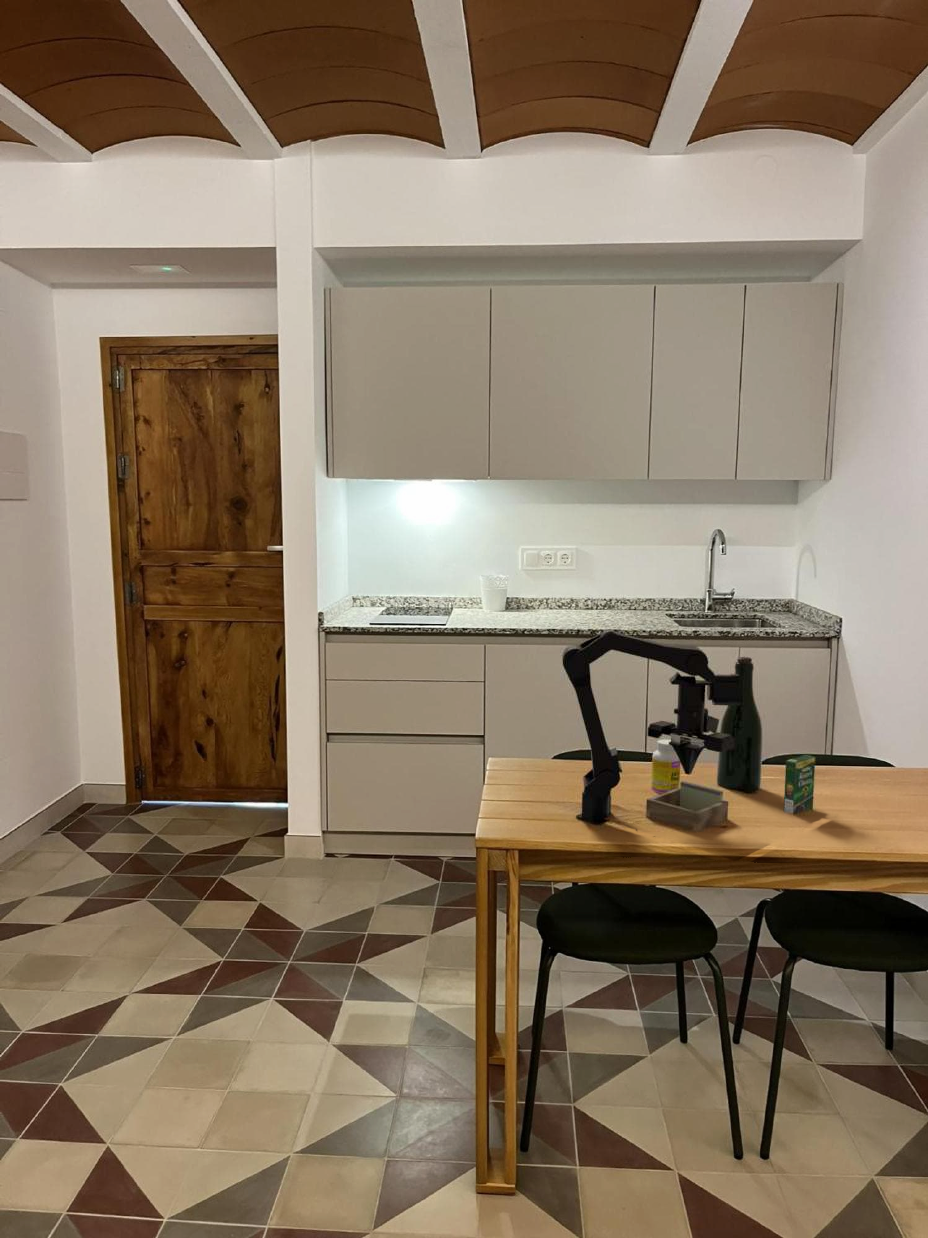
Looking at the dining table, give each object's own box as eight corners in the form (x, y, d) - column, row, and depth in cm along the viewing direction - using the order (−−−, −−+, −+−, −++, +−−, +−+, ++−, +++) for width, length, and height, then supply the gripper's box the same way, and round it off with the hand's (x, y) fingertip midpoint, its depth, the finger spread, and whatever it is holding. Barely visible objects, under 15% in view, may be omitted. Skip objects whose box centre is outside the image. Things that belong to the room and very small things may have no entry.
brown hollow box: (697, 836, 192) (698, 814, 191) (645, 821, 201) (646, 799, 201) (727, 823, 200) (728, 801, 200) (676, 809, 210) (677, 788, 209)
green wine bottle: (755, 797, 219) (762, 662, 214) (711, 790, 224) (717, 658, 220) (764, 786, 228) (771, 656, 224) (722, 779, 233) (727, 652, 229)
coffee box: (793, 819, 204) (796, 762, 202) (781, 815, 206) (784, 759, 204) (813, 812, 208) (816, 756, 207) (802, 809, 211) (805, 753, 209)
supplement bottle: (671, 799, 216) (673, 747, 215) (646, 794, 220) (648, 742, 219) (683, 792, 222) (685, 741, 220) (658, 787, 226) (660, 737, 224)
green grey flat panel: (719, 818, 200) (720, 792, 200) (679, 807, 208) (680, 782, 207) (721, 817, 201) (723, 791, 200) (682, 806, 209) (683, 781, 208)
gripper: (749, 706, 196) (745, 776, 198) (675, 692, 210) (672, 758, 212) (721, 713, 189) (718, 786, 191) (647, 699, 202) (644, 767, 204)
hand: (688, 774), depth 199 cm, fingers closed
